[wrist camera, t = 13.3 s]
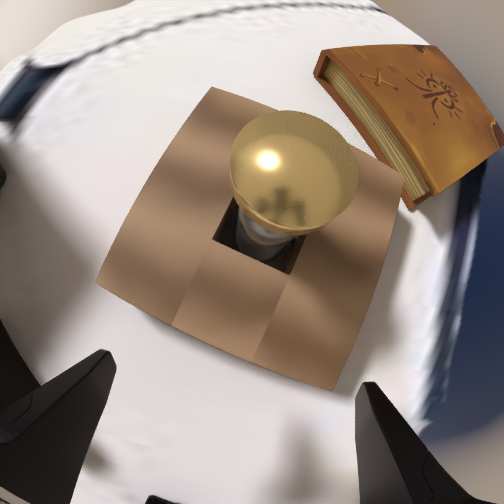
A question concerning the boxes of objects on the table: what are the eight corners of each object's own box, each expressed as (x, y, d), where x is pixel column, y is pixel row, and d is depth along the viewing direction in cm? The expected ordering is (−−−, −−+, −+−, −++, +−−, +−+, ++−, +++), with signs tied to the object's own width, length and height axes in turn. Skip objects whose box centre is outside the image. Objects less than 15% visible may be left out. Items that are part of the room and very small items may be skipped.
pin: (296, 262, 23) (372, 217, 10) (233, 272, 22) (241, 235, 10) (284, 203, 24) (337, 110, 11) (224, 211, 23) (222, 114, 10)
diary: (416, 63, 31) (432, 42, 26) (485, 156, 29) (508, 141, 24) (310, 77, 28) (324, 43, 22) (406, 211, 25) (440, 192, 20)
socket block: (313, 376, 21) (332, 391, 17) (118, 286, 21) (94, 282, 17) (380, 194, 25) (404, 176, 20) (213, 116, 25) (211, 86, 20)
